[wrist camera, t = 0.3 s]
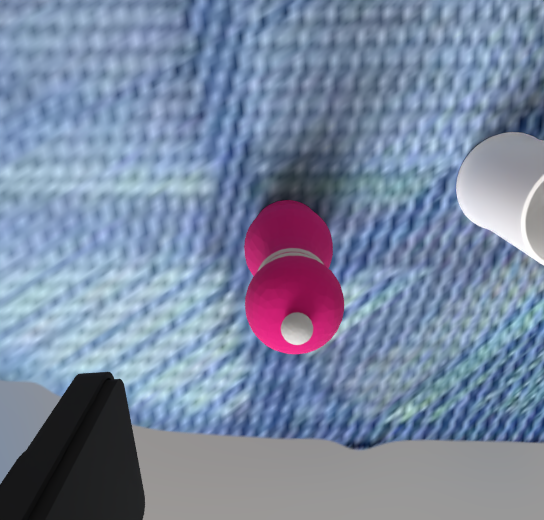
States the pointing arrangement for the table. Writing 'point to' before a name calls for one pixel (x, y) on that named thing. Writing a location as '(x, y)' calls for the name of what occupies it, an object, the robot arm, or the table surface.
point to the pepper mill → (291, 279)
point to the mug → (506, 189)
